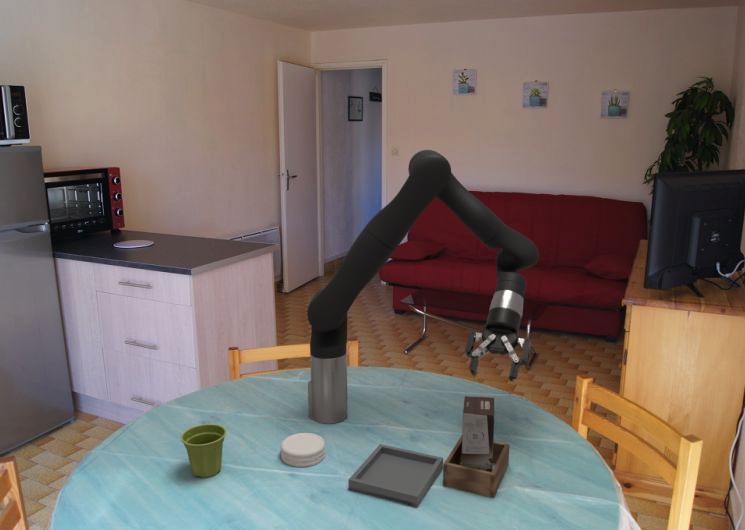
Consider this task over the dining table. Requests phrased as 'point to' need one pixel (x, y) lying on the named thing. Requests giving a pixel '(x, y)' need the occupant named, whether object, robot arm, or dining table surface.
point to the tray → (396, 475)
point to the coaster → (303, 449)
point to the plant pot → (204, 448)
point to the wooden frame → (476, 471)
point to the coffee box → (478, 433)
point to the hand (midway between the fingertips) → (491, 377)
